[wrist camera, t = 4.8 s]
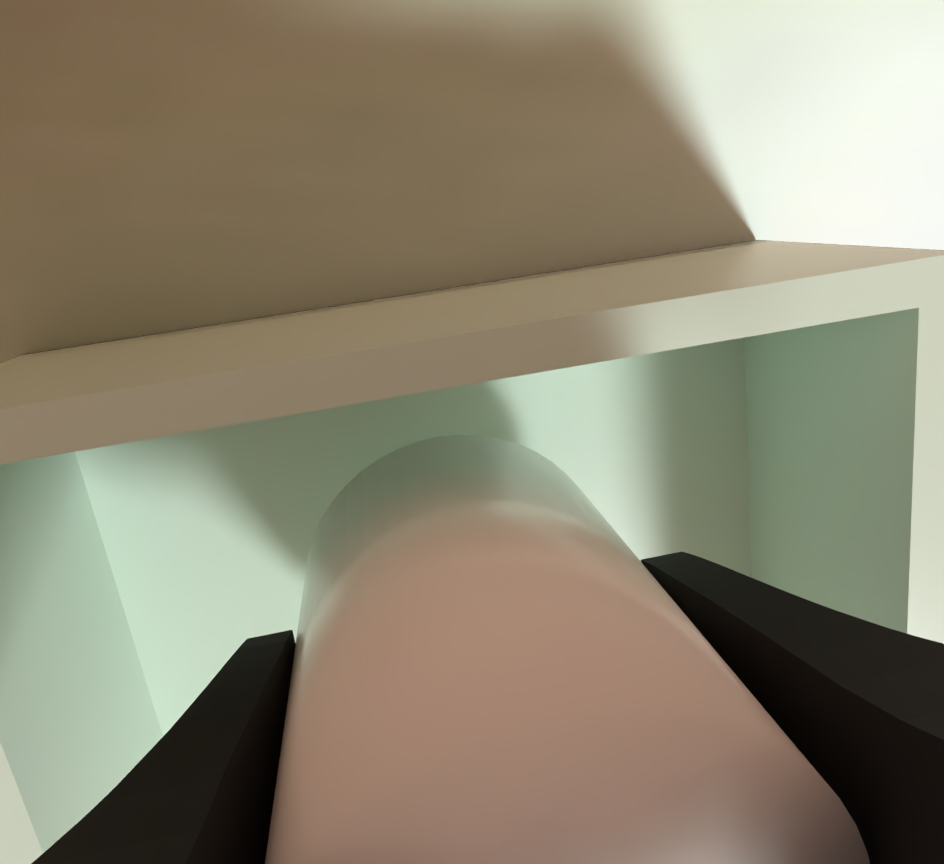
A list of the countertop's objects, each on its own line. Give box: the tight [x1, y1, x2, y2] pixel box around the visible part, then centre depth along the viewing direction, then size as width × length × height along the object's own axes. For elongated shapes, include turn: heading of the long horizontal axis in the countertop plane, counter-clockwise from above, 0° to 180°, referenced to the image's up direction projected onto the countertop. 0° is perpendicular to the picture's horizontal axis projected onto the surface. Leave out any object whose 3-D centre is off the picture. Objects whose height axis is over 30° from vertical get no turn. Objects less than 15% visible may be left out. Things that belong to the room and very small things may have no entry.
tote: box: [0, 240, 944, 864], centre depth 13 cm, size 17×13×5 cm
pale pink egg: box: [265, 435, 870, 864], centre depth 9 cm, size 5×5×7 cm
